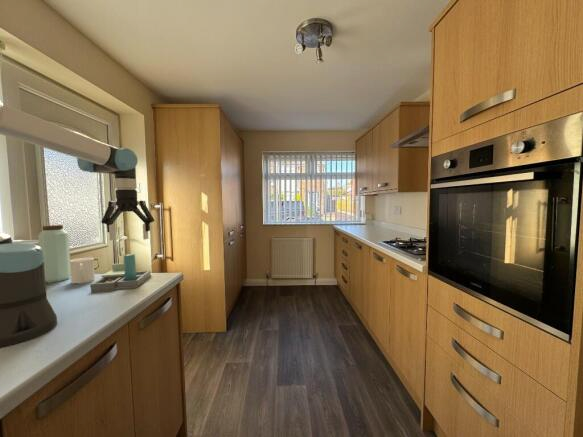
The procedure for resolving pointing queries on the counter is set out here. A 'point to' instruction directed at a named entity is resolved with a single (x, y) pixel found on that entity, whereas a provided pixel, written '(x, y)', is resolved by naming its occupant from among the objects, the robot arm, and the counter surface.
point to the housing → (119, 282)
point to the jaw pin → (130, 267)
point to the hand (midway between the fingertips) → (129, 239)
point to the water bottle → (55, 252)
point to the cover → (115, 271)
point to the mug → (82, 270)
